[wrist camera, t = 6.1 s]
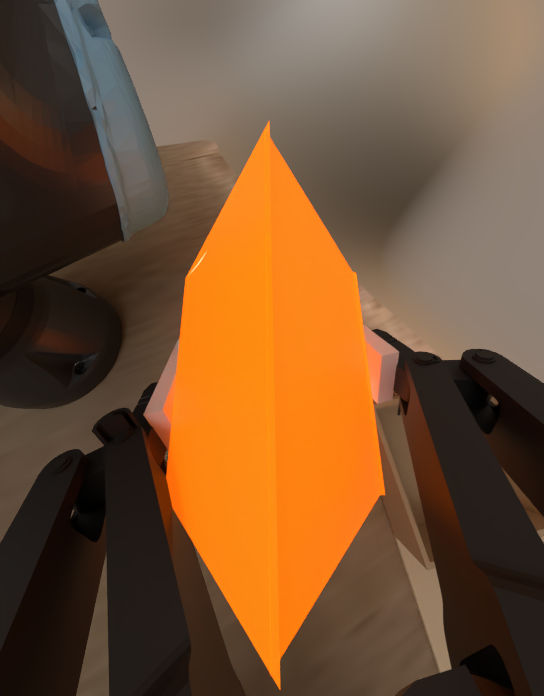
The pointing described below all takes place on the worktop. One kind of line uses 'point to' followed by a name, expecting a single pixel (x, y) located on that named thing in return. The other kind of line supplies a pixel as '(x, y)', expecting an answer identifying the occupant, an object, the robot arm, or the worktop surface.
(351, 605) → the worktop surface
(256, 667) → the worktop surface
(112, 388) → the worktop surface
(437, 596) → the kraft mailer box
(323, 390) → the orange juice
